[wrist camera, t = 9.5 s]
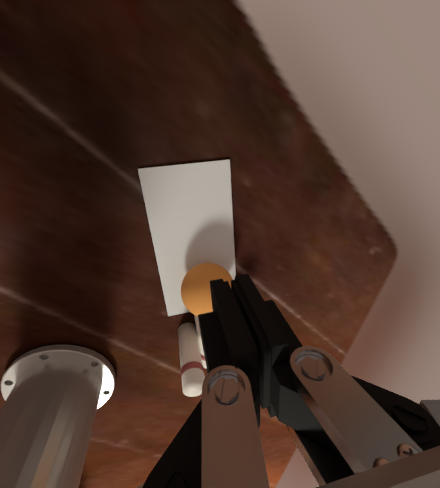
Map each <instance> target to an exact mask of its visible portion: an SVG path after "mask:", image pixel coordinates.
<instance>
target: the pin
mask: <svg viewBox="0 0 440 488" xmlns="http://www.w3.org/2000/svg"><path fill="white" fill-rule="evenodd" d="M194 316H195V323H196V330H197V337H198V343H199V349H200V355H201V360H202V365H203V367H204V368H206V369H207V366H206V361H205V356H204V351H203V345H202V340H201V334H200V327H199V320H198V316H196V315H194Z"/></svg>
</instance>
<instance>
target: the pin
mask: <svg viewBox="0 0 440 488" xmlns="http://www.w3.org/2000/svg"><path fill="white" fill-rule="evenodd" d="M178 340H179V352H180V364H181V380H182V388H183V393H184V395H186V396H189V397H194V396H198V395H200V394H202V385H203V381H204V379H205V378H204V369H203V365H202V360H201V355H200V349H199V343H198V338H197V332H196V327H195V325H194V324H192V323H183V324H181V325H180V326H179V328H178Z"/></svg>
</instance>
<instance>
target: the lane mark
mask: <svg viewBox="0 0 440 488" xmlns="http://www.w3.org/2000/svg"><path fill="white" fill-rule="evenodd" d="M138 172H139V177H140V182H141V187H142V192H143V197H144V201H145V206H146V211H147V216H148V221H149V225H150V230H151V235H152V240H153V245H154V250H155V254H156V259H157V264H158V269H159V274H160V278H161V283H162V288H163V293H164V298H165V303H166V307H167V312H168V316H172V315H177V314H182V313H187V312H190V311H189V310H188V309H187V308H186V306H185V305H184V303H183V301H182V297H181V285H182V281H183V279H184V277H185V275H186V274H187V272H188V271H189V270H190V269H192V268H193V267H195V266H197V265H199V264H203V263H214V264H217V265H220V266H222V267H223V268H224V269H226V270H227V271H228V272H229V274H230V275H231V277H232V279H233V280H235V276H236V270H235V251H234V231H233V212H232V193H231V173H230V159H228V160H218V161H209V162H199V163H189V164H179V165H169V166H160V167H150V168H140V169H138Z"/></svg>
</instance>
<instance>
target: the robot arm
mask: <svg viewBox="0 0 440 488" xmlns="http://www.w3.org/2000/svg"><path fill="white" fill-rule="evenodd" d="M210 290H211V299H212V309H213V312H209V313H204V314H199V315H198V320H199V327H200V334H201V340H202V345H203V351H204V356H205V361H206V366H207V372H208V374H207V375H206V377H205V379H204V381H203V385H202V399H201V401H200V402H199V403H198V405H197V406H196V408H195V409H194V411H193V412H192V414H191V415H190V416H189V418H188V419H187V421H186V422H185V424H184V425H183V427H182V428H181V429H180V431H179V432H178V434H177V435H176V437H175V438H174V440H173V441H172V442H171V444H170V445H169V447H168V448H167V450H166V451H165V453H164V454H163V455H162V457H161V458H160V460H159V461H158V463H157V464H156V466H155V467H154V468H153V470H152V471H151V473H150V474H149V476H148V478H147V479H146V481H145V483H143V484H142V485H140V486H138V487H137V488H269V482H268V477H267V472H266V466H265V461H264V455H263V450H262V445H261V439H260V434H259V427H260V405H261V407H262V408H263V409H264V408H267V409H268V412H269V415H270V417H274V416H277V418H278V420H279V421H280V422H282V423H284V424H286V427H287V429H288V431H289V434H290V435H291V437H292V439H293V441H294V442H295V444H296V446H297V448H298V449H299V451H300V453H301V455H302V456H303V458H304V460H305V462H306V463H307V465H308V467H309V468H310V470H311V472H312V474H313V476H314V477H315V479H316V481H317V482H318V484H319V487H317V488H440V400H421V402H420V404H417V403H415V402H413V401H412V400H410V399H408V398H405V397H403V396H400V395H398V394H395V393H393V392H391V391H388V390H385V389H383V388H381V387H378V386H376V385H373V384H371V383H368V382H366V381H364V380H361V379H359V378H356V377H354V376H351V375H350V374H349V373H348V372H347V371H346V370H345V369H344V368H343V367H342V366H341V365H340V364H339V363H338V362H337V361H336V360H335V359H334V358H333V357H332V356H331V355H330V354H329V353H327V352H326V351H324V350H322V349H320V348H317V347H314V346H302V344H301V343H300V341H299V340H298V338H297V337H296V335H295V334H294V332H293V331H292V329H291V328H290V326H289V325H288V323H287V321H286V320H285V318H284V317H283V315H282V314H281V312H280V311H279V309H278V308H277V306H276V305H275V303H274V302H273V301H272V300H268V301H264V300H263V298H262V297H261V295H260V293H259V292H258V290H257V288H256V287H255V285H254V283H253V282H252V280H251V278H250V277H249V275H248V274H244V275H239V276H235V280H231V287H230V285H229V282H228V281H223V279H217V280H211V281H210ZM115 381H116V376H115V371H114V368H113V366H112V365H111V364H110V362H109V361H108V360H107V359H106V358H105V357H104V356H102V355H101V354H99V353H97V352H95V351H93V350H90V349H88V348H85V347H80V346H76V345H66V344H63V345H49V346H44V347H40V348H36V349H33V350H31V351H29V352H26V353H24V354H22V355H21V356H20V357H18V358H17V359H16V360H14V361H13V363H12V364H11V365H10V366H9V367H8V369H7V371H6V372H5V374H4V375H3V377H2V380H1V392H2V395H3V398H4V399H5V400H6V401H5V403H4V404H3V406H2V408H1V410H0V488H79V484H80V480H81V476H82V471H83V467H84V463H85V458H86V454H87V450H88V445H89V441H90V439H91V437H92V428H93V424H94V419H95V415H96V411H97V409H98V408H100V407H101V406H102V405H104V404H105V403H106V402H107V401H108V399H109V398H110V396H111V395H112V393H113V390H114V387H115Z"/></svg>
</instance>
